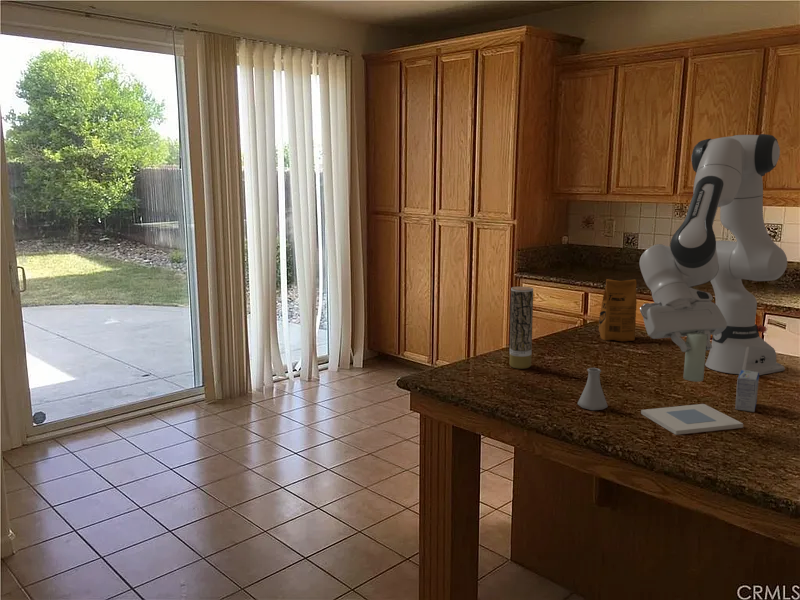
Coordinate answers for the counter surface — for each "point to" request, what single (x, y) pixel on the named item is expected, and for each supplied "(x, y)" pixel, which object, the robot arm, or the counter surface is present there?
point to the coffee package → (618, 311)
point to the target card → (691, 419)
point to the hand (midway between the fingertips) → (697, 349)
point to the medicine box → (747, 390)
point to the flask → (593, 392)
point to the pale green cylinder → (695, 357)
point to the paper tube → (521, 327)
